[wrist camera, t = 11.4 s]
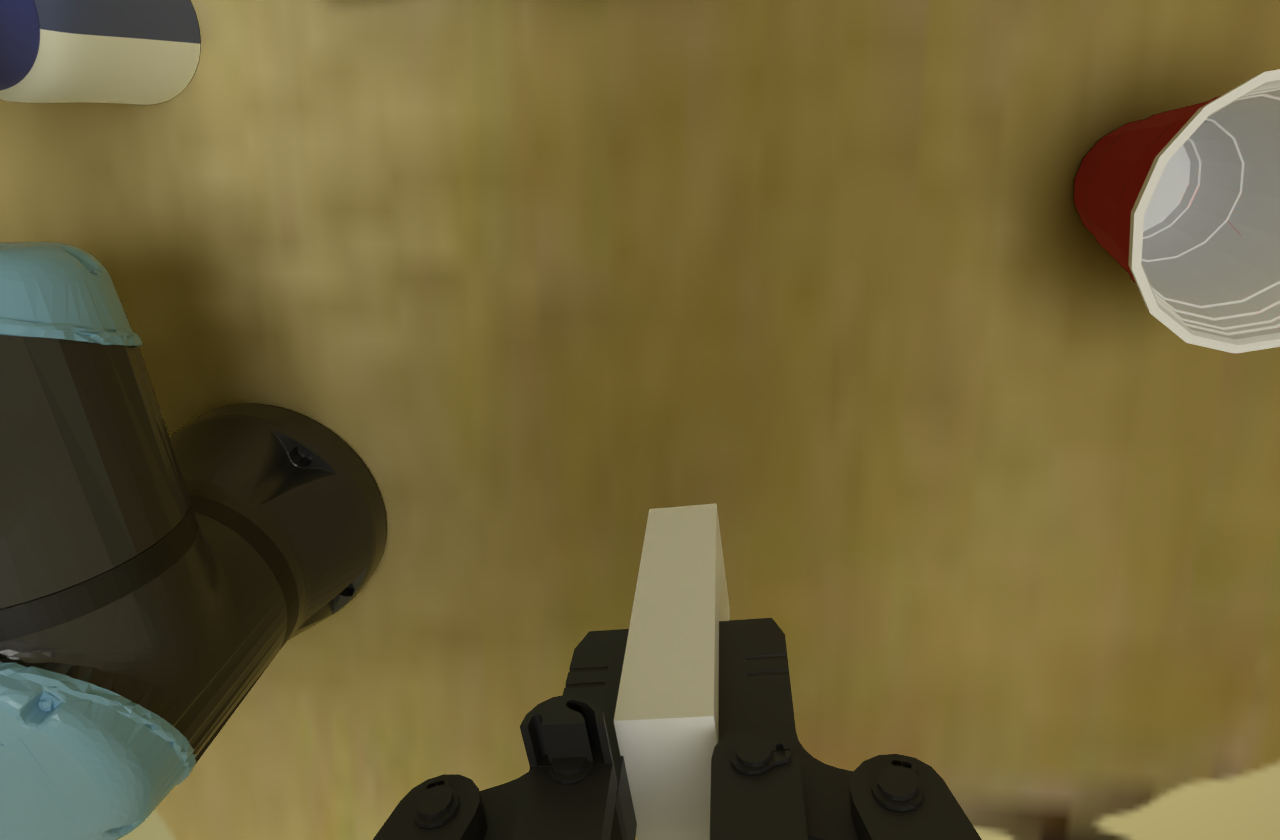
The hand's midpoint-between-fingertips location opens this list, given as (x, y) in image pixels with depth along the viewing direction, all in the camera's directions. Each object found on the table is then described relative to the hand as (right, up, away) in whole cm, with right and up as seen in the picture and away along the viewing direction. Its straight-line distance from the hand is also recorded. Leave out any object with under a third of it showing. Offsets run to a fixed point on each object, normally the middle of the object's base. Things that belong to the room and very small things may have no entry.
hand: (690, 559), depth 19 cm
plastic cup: (+24, +15, +23) cm, 37 cm away
